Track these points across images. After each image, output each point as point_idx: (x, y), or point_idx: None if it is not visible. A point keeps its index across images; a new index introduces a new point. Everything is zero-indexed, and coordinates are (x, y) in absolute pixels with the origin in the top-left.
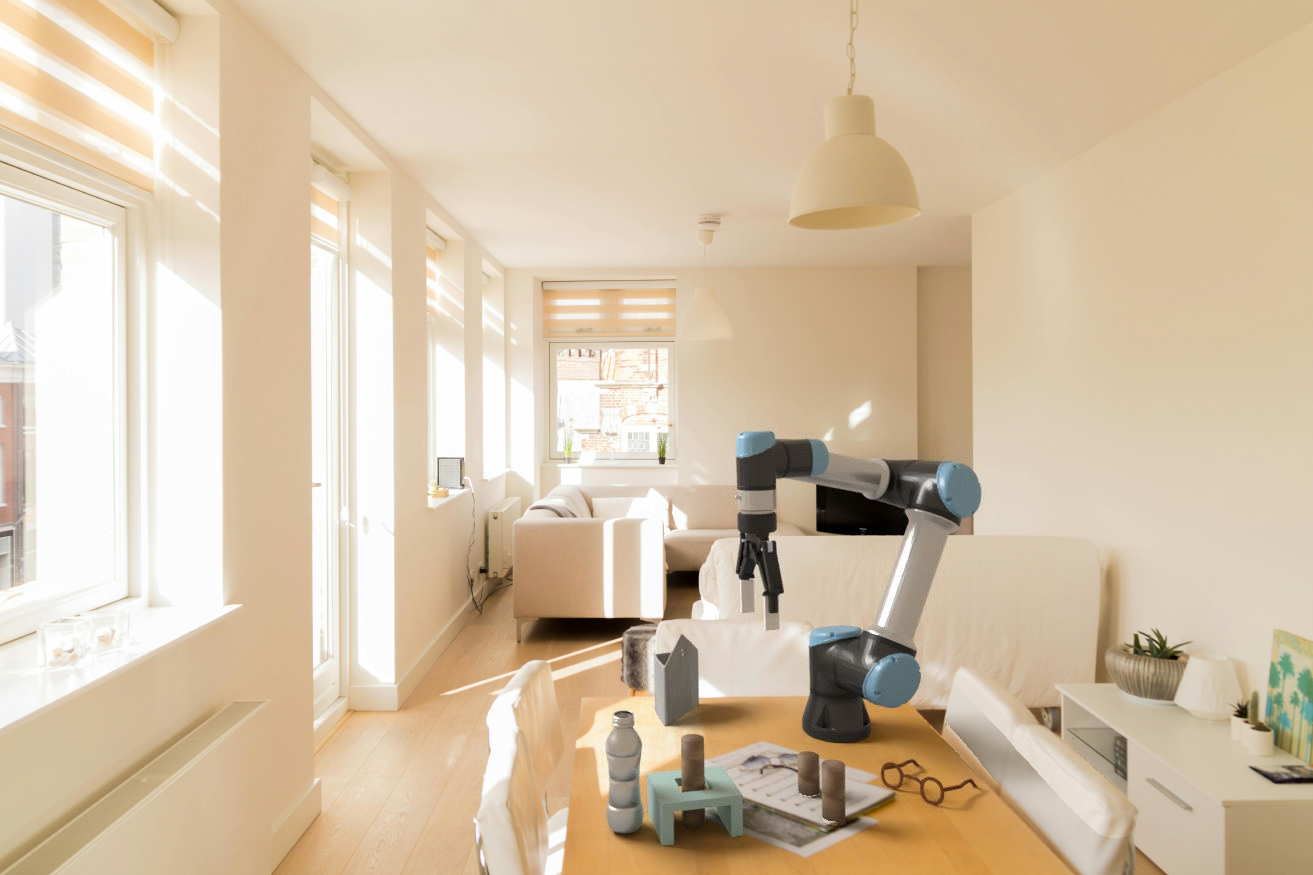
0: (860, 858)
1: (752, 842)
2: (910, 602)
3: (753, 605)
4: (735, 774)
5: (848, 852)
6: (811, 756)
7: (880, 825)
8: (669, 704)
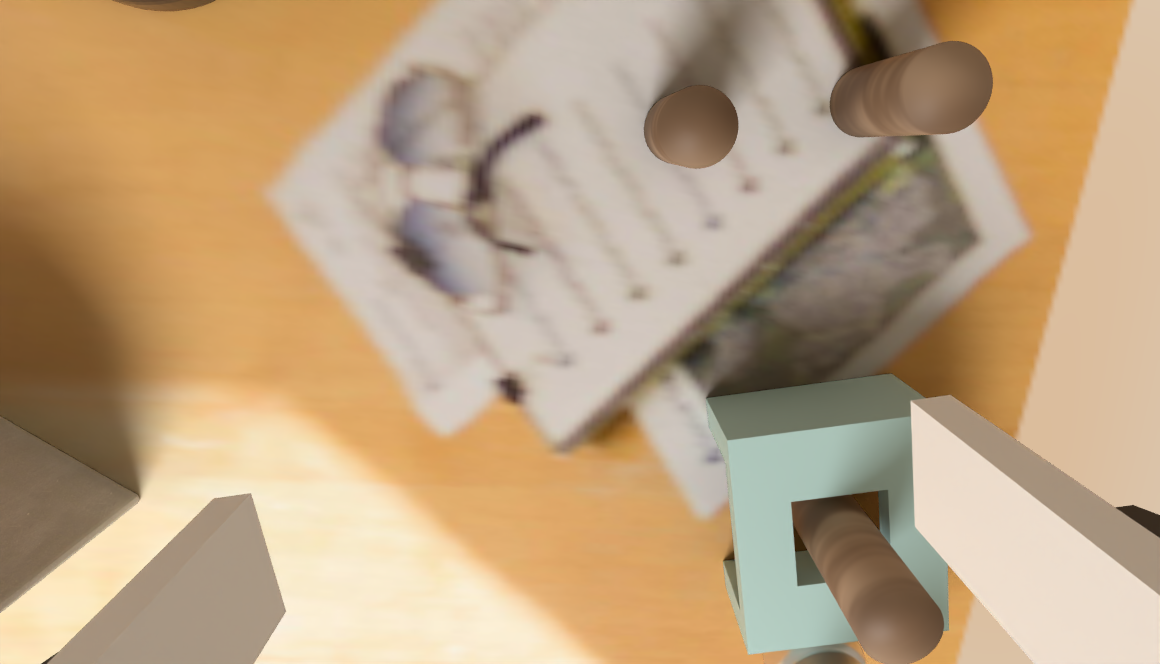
0: (1074, 88)
1: (930, 355)
2: None
3: (219, 538)
4: (530, 332)
5: (1038, 113)
6: (704, 116)
7: None
8: (77, 519)
